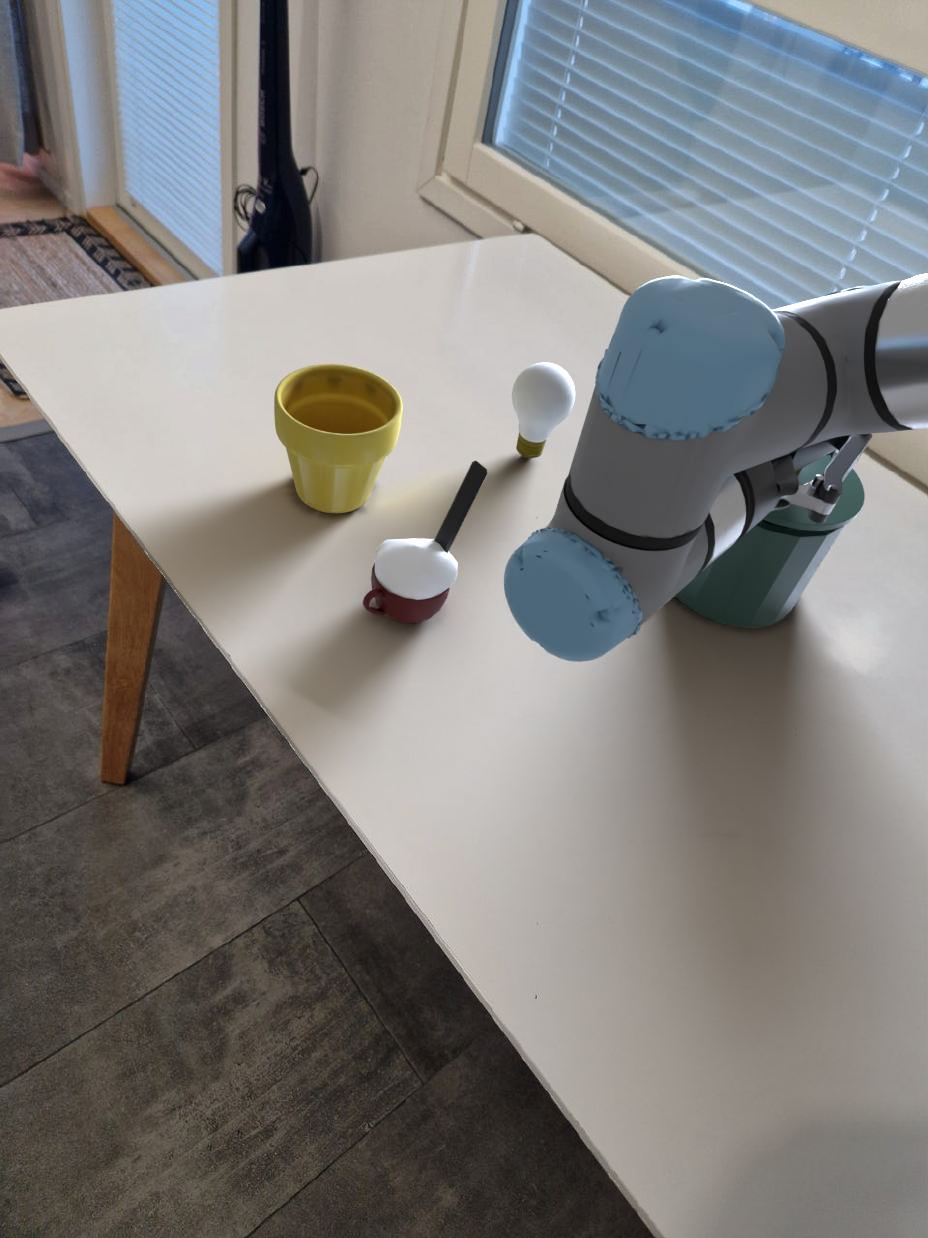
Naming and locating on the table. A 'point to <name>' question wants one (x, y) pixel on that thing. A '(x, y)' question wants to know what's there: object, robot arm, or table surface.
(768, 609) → the canister
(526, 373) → the light bulb
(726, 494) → the robot arm
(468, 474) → the cocoa
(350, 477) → the flower pot
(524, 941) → the table surface
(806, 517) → the lid
